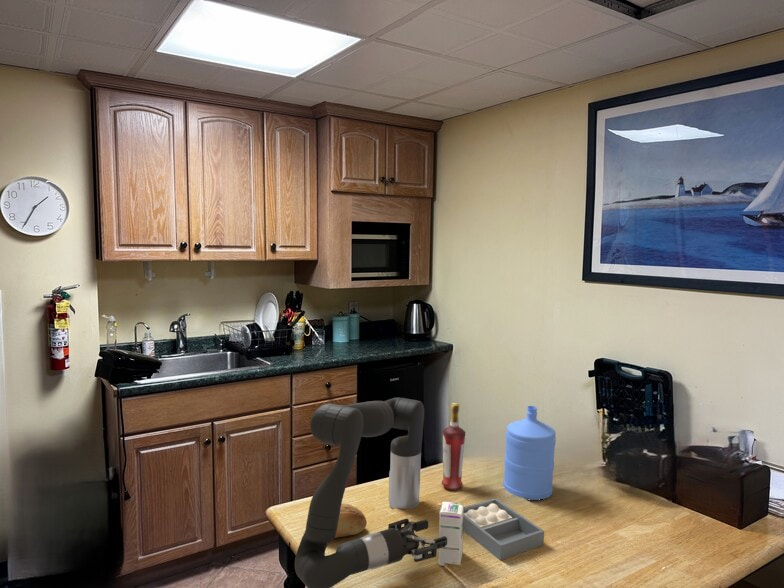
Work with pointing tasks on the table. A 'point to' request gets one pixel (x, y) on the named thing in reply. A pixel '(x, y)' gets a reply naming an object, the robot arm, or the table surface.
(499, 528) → the tray
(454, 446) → the liquor
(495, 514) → the egg carton
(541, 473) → the water jug
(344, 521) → the bread roll
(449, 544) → the syrup box
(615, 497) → the table surface
